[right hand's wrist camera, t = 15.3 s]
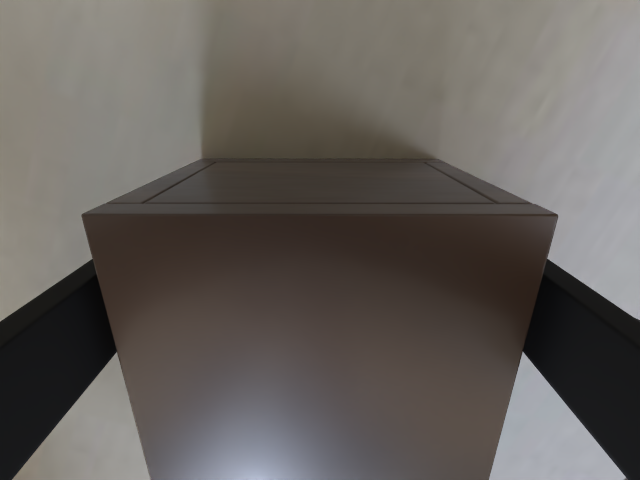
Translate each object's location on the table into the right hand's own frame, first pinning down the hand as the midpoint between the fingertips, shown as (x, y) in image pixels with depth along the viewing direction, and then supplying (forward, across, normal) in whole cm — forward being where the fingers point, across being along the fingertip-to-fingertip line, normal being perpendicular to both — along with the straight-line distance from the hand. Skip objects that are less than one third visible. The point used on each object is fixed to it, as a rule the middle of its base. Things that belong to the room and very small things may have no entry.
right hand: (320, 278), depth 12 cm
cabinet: (+4, 0, -4) cm, 6 cm away
